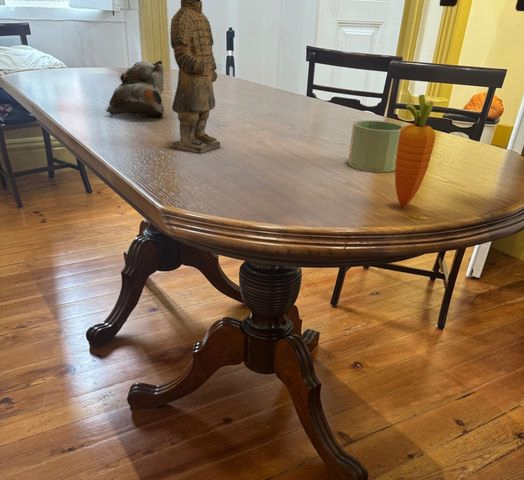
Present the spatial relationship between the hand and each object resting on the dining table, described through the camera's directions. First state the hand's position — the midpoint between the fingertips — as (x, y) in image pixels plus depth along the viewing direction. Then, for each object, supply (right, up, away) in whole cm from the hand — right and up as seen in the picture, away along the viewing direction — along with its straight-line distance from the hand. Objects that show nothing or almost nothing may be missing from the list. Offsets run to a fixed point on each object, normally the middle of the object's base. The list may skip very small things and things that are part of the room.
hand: (486, 8), depth 59 cm
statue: (-39, 0, +42) cm, 57 cm away
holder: (-5, -5, +36) cm, 37 cm away
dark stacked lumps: (-56, +17, +65) cm, 88 cm away
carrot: (-5, -18, +17) cm, 26 cm away
